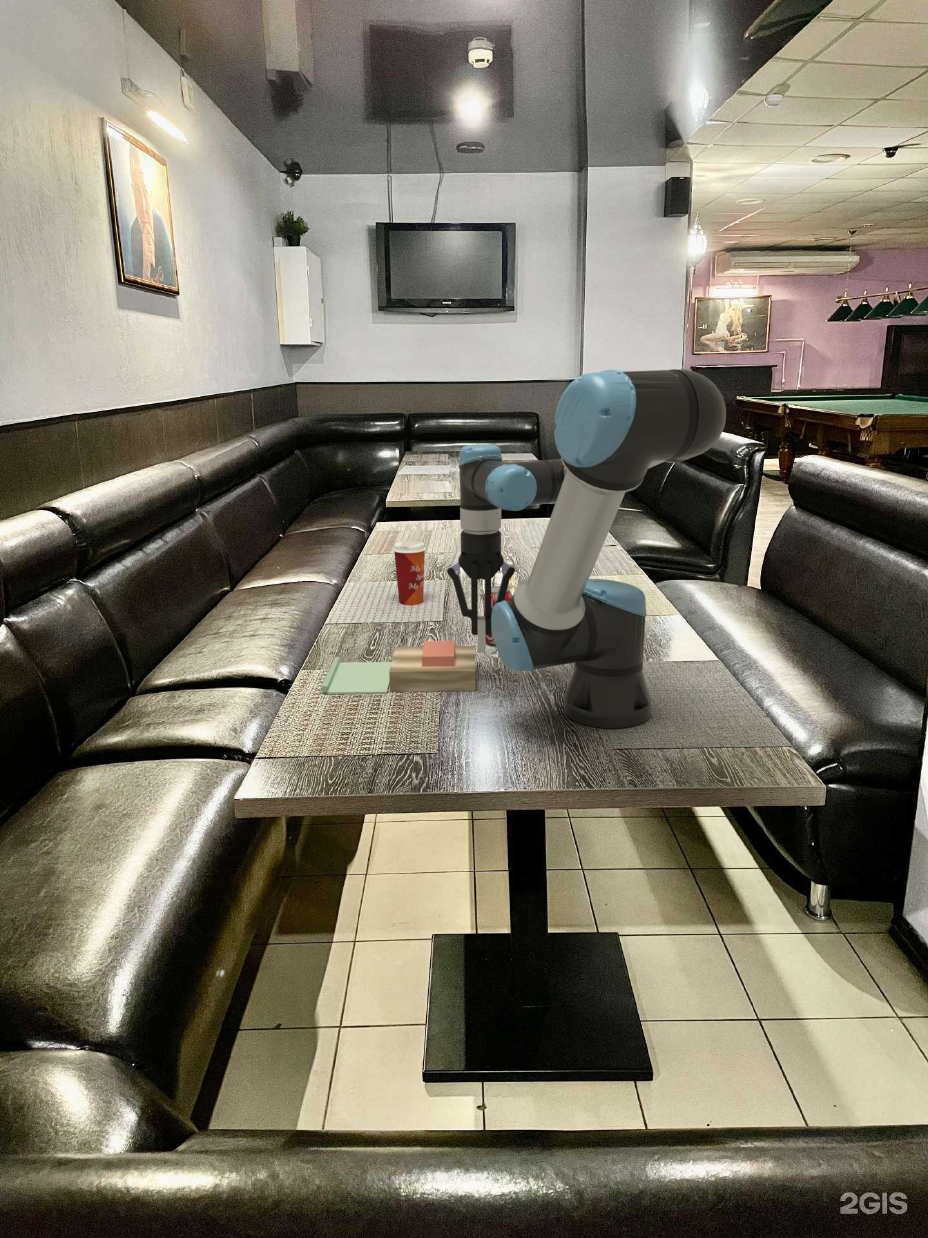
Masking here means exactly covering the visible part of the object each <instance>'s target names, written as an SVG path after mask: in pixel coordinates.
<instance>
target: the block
mask: <svg viewBox="0 0 928 1238" xmlns="http://www.w3.org/2000/svg"><path fill="white" fill-rule="evenodd" d="M455 646H456V642H455V640H424V641H423V646H422V647H423V653H422V667H437V666H454V659H455Z"/></svg>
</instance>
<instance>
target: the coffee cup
mask: <svg viewBox="0 0 928 1238" xmlns="http://www.w3.org/2000/svg"><path fill="white" fill-rule="evenodd" d="M426 550H427V548H426V546H425V543H424V542H423V541H419V540H402V541H397V542H396V543H394V546H393V549H392V551H393V553H394V562H395V573H396V580H397V581H396V583H397V594H398V601H399V603H400V605H404V606H417V605H421V604H422V603H423V602H424V589H425V588H424V586H425V585H424V584H425V581H424V580H425V559H426V557H425V553H426V552H425V551H426Z"/></svg>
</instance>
